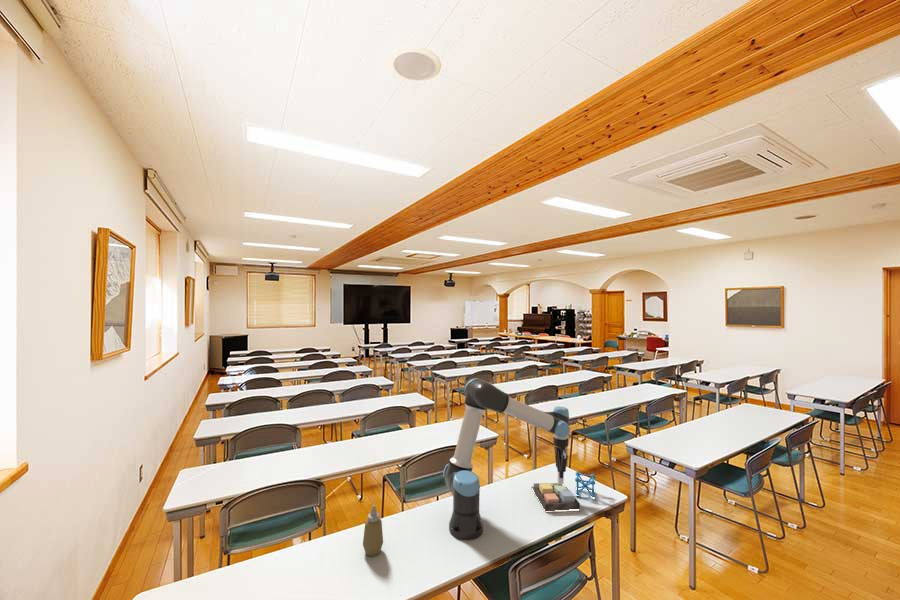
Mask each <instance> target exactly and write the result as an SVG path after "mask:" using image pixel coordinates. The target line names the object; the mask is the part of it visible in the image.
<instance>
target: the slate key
mask: <svg viewBox="0 0 900 600" xmlns="http://www.w3.org/2000/svg"><path fill="white" fill-rule="evenodd" d="M568 490H569V491H560V498H561V499H562V501H563V502H575V498H576V496H575V493H573V492H572V490H570V489H568Z"/></svg>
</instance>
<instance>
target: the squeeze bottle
mask: <svg viewBox="0 0 900 600" xmlns="http://www.w3.org/2000/svg"><path fill="white" fill-rule="evenodd" d="M363 531H364V532H363V539H362V540H363V541H362V546H363V549H364V553H365V555H367V556H369V557H374V556H377V555H378V554H380V553H381V550H382V548H383V545H384V535H383V523H382V519H381V518H380V513H379V512H377V508H376V505H375V504H373V505H372V507H371V511H370V513H368V514H367V519H366V520H365V524H364V530H363Z"/></svg>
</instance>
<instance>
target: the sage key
mask: <svg viewBox="0 0 900 600" xmlns="http://www.w3.org/2000/svg"><path fill="white" fill-rule="evenodd" d="M566 487H567V486H565V485H563V486H554V491H555V492H556V494H560V491H568V490H569V489H568V490H567V488H568V487H567V488H566Z"/></svg>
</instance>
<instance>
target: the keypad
mask: <svg viewBox="0 0 900 600" xmlns="http://www.w3.org/2000/svg"><path fill="white" fill-rule="evenodd" d="M549 483H550V485H551V486H552V488H553V493H555V494H556V492H555V491H554V486H564V484H558V483H557V482H549ZM539 484H547V482H541V483H537V482H536V483H533V486H531V489H532V488H533V490H534V492H535V494H536V496H537V497H538V499H539V501H540V503H541V504H542V506H543V508H544V509H545V511H555V510H569V509H580V510H581V507H580V505H581V504H580V501H578V499H577V497H575V502H563V501H562V499H561V498H560V494H556V496H557V497H558V498H559V503H547V502H546V501H545V499H544V495H542V493H541V492H540V490H539ZM565 487H566V488H567V490H568V491H569V490H570V489H568V487H567V486H565ZM535 494H534V495H535ZM536 496H535V497H536ZM538 499H537V500H538ZM539 501H538V502H539ZM540 503H539V504H540ZM541 504H540V505H541ZM542 506H541V507H542ZM543 508H542V509H543ZM544 509H543V510H544ZM545 511H544V512H545Z"/></svg>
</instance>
